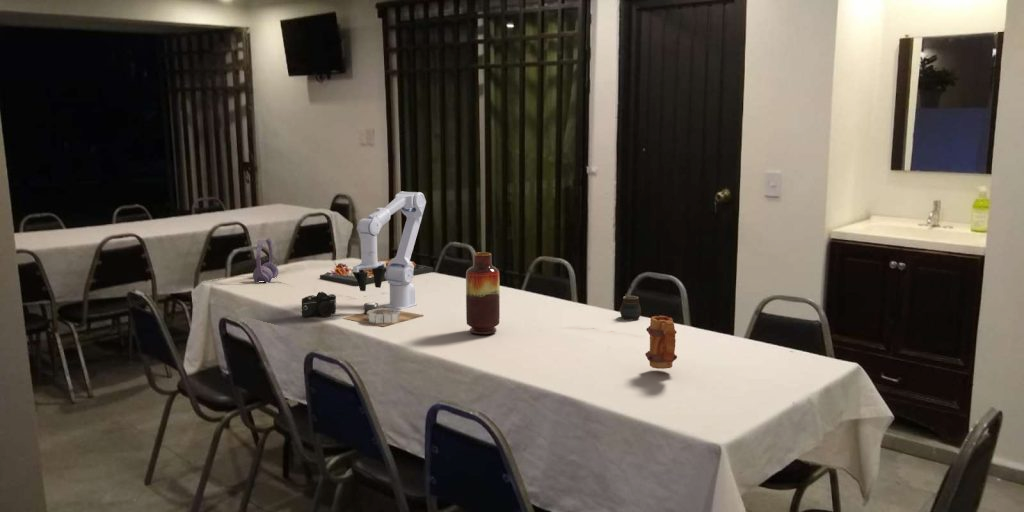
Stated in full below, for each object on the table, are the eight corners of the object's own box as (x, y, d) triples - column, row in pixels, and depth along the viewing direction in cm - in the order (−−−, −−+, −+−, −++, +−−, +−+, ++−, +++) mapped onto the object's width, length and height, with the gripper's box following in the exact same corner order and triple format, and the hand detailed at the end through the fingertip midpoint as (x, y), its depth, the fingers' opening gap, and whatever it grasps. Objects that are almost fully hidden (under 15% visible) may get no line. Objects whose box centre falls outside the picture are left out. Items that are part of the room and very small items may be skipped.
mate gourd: (643, 318, 292) (644, 290, 291) (637, 322, 285) (637, 294, 284) (623, 316, 295) (624, 288, 294) (617, 320, 288) (617, 292, 287)
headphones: (269, 287, 349) (266, 240, 346) (249, 287, 349) (247, 240, 346) (281, 279, 367) (279, 234, 364) (263, 279, 367) (261, 234, 364)
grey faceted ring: (383, 315, 295) (382, 306, 295) (405, 319, 289) (405, 310, 288) (360, 320, 286) (360, 312, 286) (383, 325, 280) (383, 316, 280)
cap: (371, 311, 301) (371, 301, 301) (381, 313, 299) (380, 303, 298) (361, 313, 297) (361, 303, 297) (371, 315, 295) (370, 305, 294)
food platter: (358, 292, 341) (357, 267, 340) (320, 285, 356) (319, 261, 355) (433, 276, 376) (433, 254, 374) (396, 270, 391) (395, 249, 389)
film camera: (303, 322, 287) (312, 297, 285) (295, 312, 293) (303, 287, 291) (337, 325, 296) (346, 300, 294) (329, 315, 302) (337, 291, 299)
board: (382, 308, 307) (382, 307, 307) (423, 316, 295) (423, 314, 295) (342, 319, 291) (342, 318, 291) (383, 326, 279) (383, 325, 279)
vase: (504, 328, 277) (504, 251, 273) (492, 336, 267) (492, 256, 263) (473, 326, 281) (473, 250, 277) (461, 333, 270) (460, 255, 266)
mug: (642, 362, 237) (643, 311, 234) (670, 362, 237) (671, 311, 235) (655, 378, 222) (656, 323, 220) (684, 377, 223) (686, 323, 221)
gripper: (375, 248, 303) (376, 284, 305) (346, 253, 291) (347, 291, 293) (389, 250, 298) (390, 286, 301) (360, 255, 287) (361, 293, 289)
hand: (370, 289), depth 297 cm, fingers open, 7 cm apart
